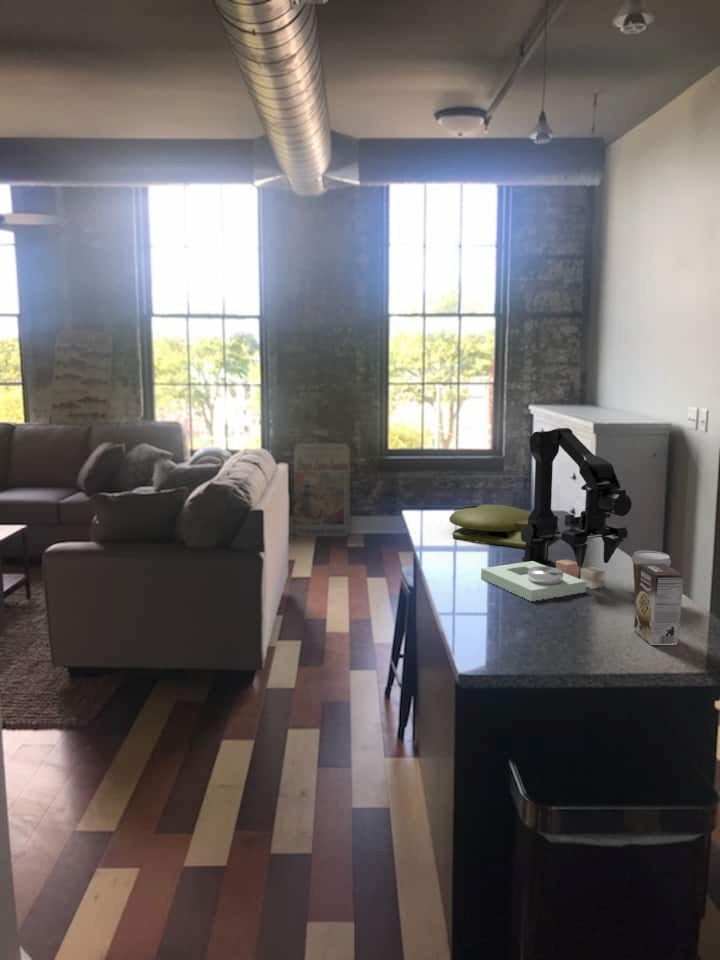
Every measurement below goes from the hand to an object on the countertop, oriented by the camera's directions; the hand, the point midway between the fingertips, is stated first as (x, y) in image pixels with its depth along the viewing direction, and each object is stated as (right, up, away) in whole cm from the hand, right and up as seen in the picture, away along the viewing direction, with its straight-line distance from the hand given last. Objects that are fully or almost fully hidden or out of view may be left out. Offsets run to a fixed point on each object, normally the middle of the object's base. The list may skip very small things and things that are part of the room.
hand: (592, 564), depth 206 cm
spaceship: (-15, +4, +59) cm, 61 cm away
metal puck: (-14, -4, -5) cm, 15 cm away
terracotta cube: (-5, -5, +8) cm, 11 cm away
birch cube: (0, -6, +1) cm, 6 cm away
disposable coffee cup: (+11, -8, -12) cm, 18 cm away
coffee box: (+2, -12, -38) cm, 40 cm away
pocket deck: (-16, -6, +1) cm, 17 cm away
